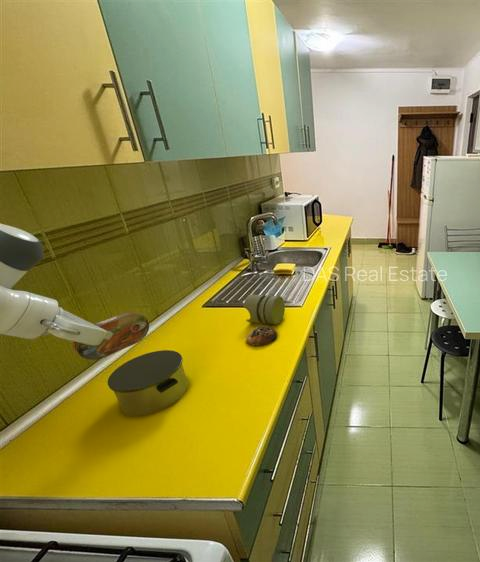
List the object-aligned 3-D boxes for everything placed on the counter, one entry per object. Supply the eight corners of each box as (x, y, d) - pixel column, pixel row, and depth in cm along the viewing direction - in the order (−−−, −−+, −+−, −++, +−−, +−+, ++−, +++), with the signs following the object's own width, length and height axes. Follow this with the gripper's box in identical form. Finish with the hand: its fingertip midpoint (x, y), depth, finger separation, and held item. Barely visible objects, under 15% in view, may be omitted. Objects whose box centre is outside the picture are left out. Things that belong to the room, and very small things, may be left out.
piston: (260, 313, 132) (255, 290, 127) (286, 315, 130) (282, 291, 125) (246, 327, 121) (240, 302, 117) (274, 329, 119) (269, 304, 115)
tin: (83, 366, 71) (71, 336, 67) (77, 362, 72) (65, 332, 69) (153, 336, 83) (145, 309, 80) (146, 332, 84) (139, 306, 81)
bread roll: (275, 344, 109) (271, 332, 108) (244, 351, 109) (240, 339, 107) (279, 329, 120) (276, 318, 118) (251, 335, 119) (247, 324, 117)
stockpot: (105, 402, 85) (92, 376, 81) (167, 367, 99) (158, 343, 95) (143, 429, 77) (130, 400, 73) (205, 386, 90) (197, 361, 87)
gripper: (63, 313, 59) (135, 331, 71) (24, 293, 68) (94, 312, 80) (43, 344, 57) (120, 357, 69) (5, 320, 66) (79, 335, 78)
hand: (106, 333), depth 74 cm, fingers closed on tin, 2 cm apart
